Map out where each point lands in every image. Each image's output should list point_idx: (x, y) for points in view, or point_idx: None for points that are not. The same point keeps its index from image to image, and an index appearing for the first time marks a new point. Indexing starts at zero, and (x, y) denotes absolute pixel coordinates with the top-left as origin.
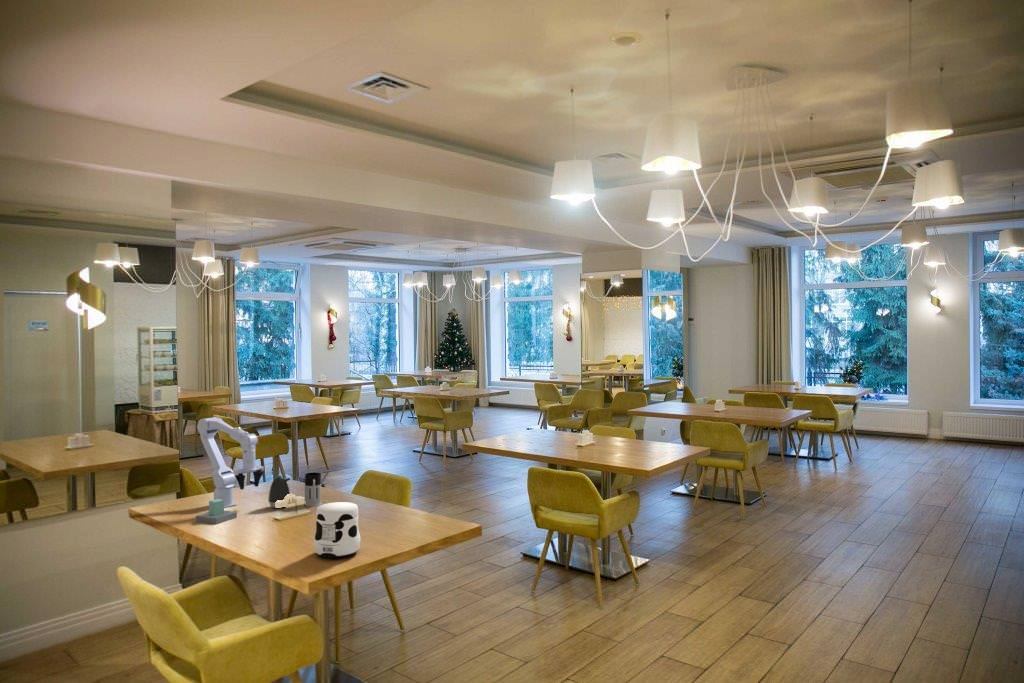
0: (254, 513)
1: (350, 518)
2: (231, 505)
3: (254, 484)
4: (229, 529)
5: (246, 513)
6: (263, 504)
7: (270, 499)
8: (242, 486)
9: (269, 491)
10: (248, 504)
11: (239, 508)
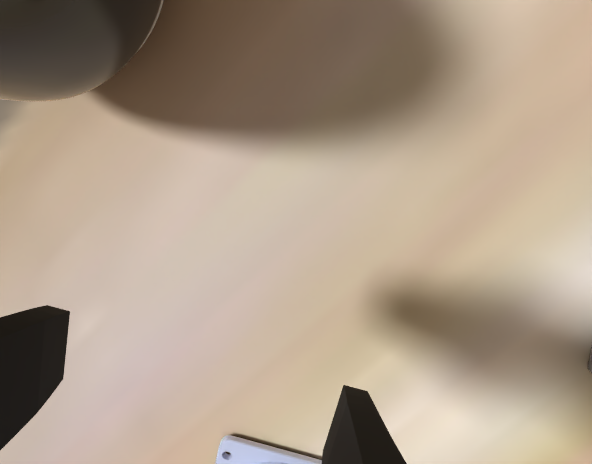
0: (409, 42)
1: None
2: (281, 452)
3: (43, 398)
4: None
5: (441, 130)
6: (85, 236)
7: None
8: (385, 426)
9: (45, 7)
10: (157, 363)
11: (305, 338)
